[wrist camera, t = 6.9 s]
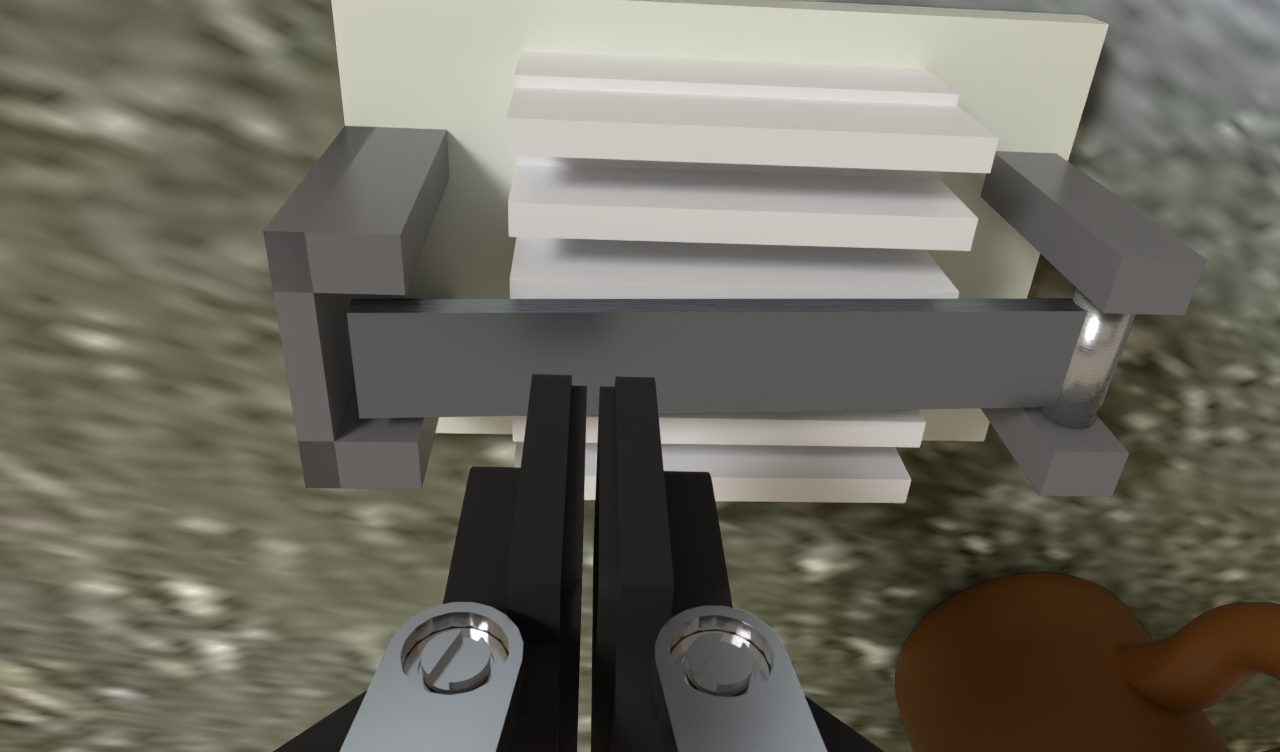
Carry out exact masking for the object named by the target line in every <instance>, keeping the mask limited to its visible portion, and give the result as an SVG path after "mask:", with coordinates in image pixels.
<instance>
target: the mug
mask: <svg viewBox="0 0 1280 752" xmlns="http://www.w3.org/2000/svg"><path fill="white" fill-rule="evenodd" d="M1257 674H1266V675H1269V676H1273V677H1275V678H1276V679H1278V680H1279V681H1280V605H1279V604H1275V603H1271V602H1236V603H1232V604H1227V605H1223V606H1218V607H1216V608H1214V609H1212V610H1210V611H1208V612H1205V613H1203V614H1201V615H1200V616H1198V617H1197V618H1195V619H1194V620H1192V621H1191V622H1189V623H1188V624H1187V625H1185V626H1184V627H1182V628H1181V629H1180V630H1179V631H1178V632H1177V633H1176V634H1175V635H1173V636H1172V637H1171V638H1169V639H1168V640H1163V641H1155V642H1153V641H1152V640H1151V638H1150V637H1149V635H1148V634H1147V633H1146V631H1145V630H1144V628H1143V627H1142V626H1141V624H1140V623H1139V622H1138V620H1137V619H1136V618H1135V617H1134V615H1133V614H1132V613H1131V612H1130V611H1129V610H1128V609H1127V608H1126V607H1125V606H1124V604H1123V603H1121V602H1120V601H1119V600H1118V599H1117V598H1116V597H1115V596H1114V595H1112V594H1111V593H1109V592H1108V591H1107V590H1105V589H1103V588H1101V587H1099V586H1097V585H1096V584H1094V583H1091V582H1088V581H1086V580H1083V579H1080V578H1077V577H1074V576H1069V575H1064V574H1057V573H1046V572H1045V573H1024V574H1015V575H1010V576H1005V577H1001V578H997V579H993V580H990V581H987V582H984V583H981V584H978V585H976V586H973V587H971V588H969V589H966V590H965V591H963V592H961V593H959V594H957V595H955V596H953V597H951V598H950V599H948V600H947V601H945V602H944V603H942V604H941V605H939V606H938V607H937V608H936V609H934V610H933V611H932V612H930V613H929V614H928V615H927V616H926V617H925V618H924V619H923V620H922V621H921V622H920V623H919V624H918V625H917V627H916V628H915V629H914V630H913V632H912V633H911V634H910V636H909V637H908V639H907V641H906V642H905V644H904V646H903V649H902V651H901V653H900V656H899V659H898V663H897V667H896V671H895V690H896V697H897V703H898V707H899V710H900V714H901V717H902V720H903V723H904V726H905V729H906V732H907V735H908V737H909V740H910V743H911V746H912V749H913V752H1230V751H1229V749H1228V748H1227V746H1226V745H1225V743H1224V742H1223V741H1222V739H1221V738H1220V736H1219V735H1218V733H1217V732H1216V731H1215V729H1214V728H1213V726H1212V725H1211V723H1210V722H1209V720H1208V719H1207V717H1206V716H1205V715H1204V713H1203V712H1202V710H1201V709H1204V708H1208V707H1211V706H1213V705H1214V704H1216V703H1218V702H1220V701H1222V700H1224V699H1225V698H1226V697H1228V696H1229V695H1230V694H1231V693H1232V692H1234V691H1235V690H1236V689H1237V688H1238V687H1239V686H1240V685H1242V684H1243V683H1244V682H1245V681H1246V680H1247V679H1248V678H1250V677H1253V676H1255V675H1257ZM1263 752H1280V747H1277V748H1274V749H1270V750H1267V751H1263Z"/></svg>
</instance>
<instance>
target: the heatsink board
mask: <svg viewBox="0 0 1280 752" xmlns="http://www.w3.org/2000/svg"><path fill="white" fill-rule="evenodd" d="M331 1H332V10H333V19H334V28H335V37H336V46H337V56H338V65H339V74H340V83H341V92H342V101H343V110H344V119H345V127H344V128H343V129H342V130H341V132H340V133H339V134H338V136H337V137H336V138H335V139H334V141H333V142H332V143H331V145H330V146H329V147H328V148H327V150H326V151H325V152H324V154H323V155H322V156H321V157H320V159H319V160H318V161H317V163H316V164H315V165H314V166H313V168H312V169H311V170H310V172H309V173H308V174H307V175H306V177H305V178H304V179H303V181H302V182H301V183H300V184H299V186H298V187H297V188H296V189H295V191H294V192H293V193H292V195H291V196H290V197H289V198H288V200H287V201H286V202H285V204H284V205H283V206H282V207H281V209H280V210H279V211H278V213H277V214H276V215H275V216H274V218H273V219H272V220H271V222H270V223H269V224H268V225H267V227H266V228H265V229H264V231H263V232H264V239H265V245H266V251H267V257H268V263H269V269H270V275H271V281H272V287H273V293H274V299H275V305H276V311H277V317H278V323H279V329H280V335H281V341H282V347H283V354H284V360H285V366H286V372H287V378H288V384H289V390H290V396H291V402H292V408H293V414H294V420H295V426H296V432H297V438H298V444H299V450H300V456H301V462H302V469H303V475H304V481H305V487H306V488H360V489H422V485H423V481H424V477H425V473H426V469H427V465H428V461H429V457H430V452H431V448H432V444H433V440H434V436H435V433H465V434H513V441H514V442H517V446H516V455H515V465H514V468H521V460H522V452H523V444H524V436H525V428H526V420H527V416H484V417H423V418H362V419H359V411H358V402H357V394H356V386H355V378H354V369H353V361H352V353H351V345H350V337H349V328H348V320H347V311H348V308H349V305H350V302H351V299H1027V296H1028V293H1029V289H1030V286H1031V283H1032V279H1033V276H1034V273H1035V269H1036V266H1037V263H1038V259H1039V256H1040V254H1042V255H1043V256H1044V257H1045V258H1046V259H1047V260H1048V261H1049V262H1050V263H1051V264H1052V265H1053V266H1054V267H1055V268H1056V269H1057V270H1058V271H1059V272H1060V273H1062V274H1063V275H1064V276H1065V277H1066V278H1067V279H1068V280H1069V281H1070V282H1071V283H1072V284H1073V285H1074V286H1075V287H1076V288H1077V289H1078V290H1079V291H1080V292H1082V293H1083V294H1084V295H1085V296H1086V297H1087V298H1088V299H1089V300H1090V301H1091V302H1092V303H1093V304H1094V305H1095V306H1096V307H1097V308H1098V309H1099V310H1100V311H1102V312H1103V313H1113V314H1151V315H1185V313H1186V311H1187V308H1188V306H1189V303H1190V301H1191V298H1192V296H1193V293H1194V291H1195V288H1196V286H1197V283H1198V281H1199V278H1200V276H1201V273H1202V271H1203V268H1204V266H1205V263H1206V261H1207V259H1205V258H1204V257H1202V256H1201V255H1200V254H1198V253H1197V252H1195V251H1194V250H1193V249H1191V248H1190V247H1188V246H1187V245H1185V244H1184V243H1183V242H1181V241H1180V240H1178V239H1177V238H1176V237H1174V236H1173V235H1171V234H1170V233H1168V232H1167V231H1166V230H1164V229H1163V228H1161V227H1160V226H1159V225H1157V224H1156V223H1154V222H1153V221H1151V220H1150V219H1149V218H1147V217H1146V216H1144V215H1143V214H1142V213H1140V212H1139V211H1137V210H1136V209H1134V208H1133V207H1132V206H1130V205H1129V204H1127V203H1126V202H1125V201H1123V200H1122V199H1120V198H1119V197H1117V196H1116V195H1115V194H1113V193H1112V192H1110V191H1109V190H1108V189H1106V188H1105V187H1103V186H1102V185H1100V184H1099V183H1098V182H1096V181H1095V180H1093V179H1092V178H1091V177H1089V176H1088V175H1086V174H1085V173H1083V172H1082V171H1081V170H1079V169H1078V168H1076V167H1075V166H1074V165H1072V164H1071V163H1069V162H1068V159H1069V156H1070V153H1071V149H1072V146H1073V143H1074V139H1075V136H1076V133H1077V129H1078V126H1079V122H1080V119H1081V116H1082V112H1083V109H1084V106H1085V102H1086V99H1087V96H1088V92H1089V89H1090V86H1091V82H1092V79H1093V76H1094V72H1095V69H1096V66H1097V62H1098V59H1099V56H1100V52H1101V49H1102V46H1103V42H1104V39H1105V36H1106V32H1107V29H1108V26H1109V24H1107V23H1104V22H1102V21H1099V20H1096V19H1094V18H1091V17H1089V16H1086V15H1072V14H1053V13H1033V12H1013V11H993V10H973V9H953V8H933V7H913V6H893V5H874V4H854V3H834V2H814V1H794V0H331ZM658 415H659V426H660V437H661V448H662V458H663V469H664V471H688V472H709V473H710V475H711V479H712V484H713V490H714V496H715V501H754V502H853V503H906V499H907V495H908V491H909V487H910V483H911V478H910V476H909V474H908V472H907V470H906V468H905V466H904V464H903V462H902V460H901V458H900V456H899V454H898V452H897V450H896V448H895V447H920V444H921V440H925V441H984V440H985V436H986V433H987V430H988V426H989V423H991V425H992V426H993V428H994V429H995V431H996V432H997V434H998V435H999V437H1000V438H1001V440H1002V441H1003V443H1004V444H1005V445H1006V447H1007V448H1008V450H1009V451H1010V453H1011V454H1012V456H1013V457H1014V459H1015V460H1016V462H1017V463H1018V465H1019V466H1020V468H1021V469H1022V471H1023V472H1024V474H1025V475H1026V477H1027V478H1028V480H1029V481H1030V483H1031V484H1032V486H1033V487H1034V489H1035V490H1036V491H1037V493H1038V494H1039V496H1097V497H1112V495H1113V493H1114V490H1115V488H1116V485H1117V483H1118V480H1119V478H1120V475H1121V473H1122V470H1123V468H1124V465H1125V463H1126V460H1127V458H1128V455H1129V452H1128V451H1127V450H1126V449H1125V447H1124V446H1123V445H1122V444H1121V443H1120V442H1119V440H1118V439H1117V438H1116V437H1115V436H1114V435H1113V433H1112V432H1111V431H1110V430H1109V429H1108V428H1107V426H1106V425H1105V424H1104V423H1103V422H1102V421H1101V419H1100V418H1099V417H1098V416H1097V415H1095V418H1094V421H1093V423H1092V424H1091V425H1089V426H1087V427H1081V428H1075V427H1067V426H1063V425H1060V424H1057V423H1055V422H1052V421H1050V420H1049V419H1047V418H1046V417H1044V416H1043V415H1042V414H1041V413H1040V412H1039V410H1038V407H1033V408H972V409H911V410H850V411H789V412H728V413H667V414H658ZM598 416H599V415H586V446H585V485H584V500H595V495H596V469H597V443H598Z"/></svg>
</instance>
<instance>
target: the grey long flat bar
mask: <svg viewBox="0 0 1280 752" xmlns="http://www.w3.org/2000/svg"><path fill="white" fill-rule="evenodd" d="M1135 315H1136V314H1113V313H1103V312H1102V311H1100V310H1099V309H1098V308H1097V307H1096V306H1095V305H1094V304H1093V303H1092V302H1091V301H1090V300H1089V299H1088V298H1087V297H1086V296H1085V295H1084V294H1083V293H1082V292H1080V291H1079V290H1078V289H1077V288H1076V291H1075V294H1074V297H1073V298H1053V299H351V302H350V305H349V308H348V311H347V320H348V328H349V337H350V345H351V353H352V361H353V369H354V378H355V386H356V394H357V402H358V411H359V419H362V418H423V417H484V416H527V412H528V404H529V396H530V388H531V379H532V374H551V375H572V386H587V408H586V415H599V391H600V386H606V387H615V377H616V376H620V377H654V378H655V383H656V394H657V404H658V414H667V413H728V412H789V411H850V410H911V409H972V408H1033V407H1038V410H1039V412H1040V413H1041V414H1042V415H1043V416H1044V417H1046V418H1047V419H1049V420H1050V421H1052V422H1055V423H1057V424H1060V425H1063V426H1067V427H1075V428H1081V427H1087V426H1089V425H1091V424H1092V423H1093V421H1094V418H1095V415H1096V413H1097V410H1098V407H1099V406H1102V404H1103V402H1104V399H1105V396H1106V394H1107V391H1108V388H1109V385H1110V383H1111V380H1112V377H1113V375H1114V372H1115V369H1116V367H1117V364H1118V361H1119V358H1120V356H1121V353H1122V350H1123V348H1124V345H1125V342H1126V340H1127V337H1128V334H1129V331H1130V329H1131V326H1132V323H1133V321H1134V318H1135Z"/></svg>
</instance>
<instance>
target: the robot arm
mask: <svg viewBox="0 0 1280 752" xmlns="http://www.w3.org/2000/svg"><path fill="white" fill-rule="evenodd" d="M586 408H587V386H572V375H551V374H532V379H531V388H530V396H529V404H528V412H527V420H526V428H525V436H524V444H523V452H522V460H521V468H511V467H472V468H471V469H470V473H469V476H468V481H467V486H466V491H465V496H464V501H463V506H462V511H461V516H460V521H459V526H458V531H457V536H456V541H455V546H454V551H453V556H452V561H451V566H450V571H449V576H448V581H447V586H446V591H445V596H444V601H443V604H442V605H437V606H433V607H431V608H429V609H426V610H424V611H422V612H420V613H418V614H416V615H414V616H413V617H412V618H410V619H409V620H408V621H407V622H406V623H404V624H403V625H402V626H401V627H399V629H398V630H397V632H396V633H395V635H394V636H393V638H392V639H391V641H390V642H389V644H388V646H387V649H386V651H385V653H384V655H383V657H382V660H381V662H380V664H379V666H378V668H377V671H376V673H375V675H374V677H373V679H372V682H371V684H370V686H369V688H368V690H367V691H365V692H364V693H362V694H361V695H359V696H358V697H356V698H355V699H353V700H351V701H350V702H348V703H347V704H345V705H344V706H342V707H341V708H339V709H338V710H336V711H335V712H333V713H332V714H330V715H328V716H327V717H325V718H324V719H322V720H321V721H319V722H318V723H316V724H315V725H313V726H312V727H310V728H309V729H307V730H306V731H304V732H302V733H301V734H299V735H298V736H296V737H295V738H293V739H292V740H290V741H289V742H287V743H286V744H284V745H283V746H281V747H279V748H278V749H276V750H275V751H273V752H577V730H578V697H579V663H580V630H581V597H582V561H583V523H584V485H585V446H586ZM591 752H884V751H883V750H881V749H880V748H878V747H877V746H876V745H874V744H873V743H871V742H870V741H868V740H867V739H866V738H864V737H863V736H861V735H860V734H858V733H857V732H856V731H854V730H853V729H851V728H850V727H849V726H847V725H846V724H844V723H843V722H841V721H840V720H839V719H837V718H836V717H834V716H833V715H831V714H830V713H829V712H827V711H826V710H824V709H823V708H822V707H820V706H819V705H817V704H816V703H814V702H813V701H812V700H810V699H809V698H807V697H806V696H804V693H803V691H802V688H801V686H800V684H799V681H798V679H797V676H796V674H795V671H794V669H793V666H792V664H791V662H790V659H789V657H788V654H787V652H786V649H785V647H784V645H783V644H782V642H781V641H780V639H779V637H778V636H777V634H776V632H775V631H773V630H772V629H771V628H770V627H769V626H768V625H767V624H766V623H764V622H763V621H762V620H761V619H759V618H757V617H755V616H753V615H751V614H749V613H747V612H745V611H743V610H739V609H735V608H733V607H732V601H731V594H730V588H729V582H728V576H727V570H726V564H725V558H724V552H723V545H722V539H721V533H720V527H719V521H718V515H717V509H716V503H715V496H714V490H713V484H712V479H711V475H710V473H709V472H688V471H664V469H663V458H662V448H661V437H660V426H659V415H658V404H657V394H656V383H655V378H654V377H620V376H616V377H615V387H606V386H600V391H599V416H598V443H597V469H596V495H595V522H594V552H593V630H592V714H591Z"/></svg>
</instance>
